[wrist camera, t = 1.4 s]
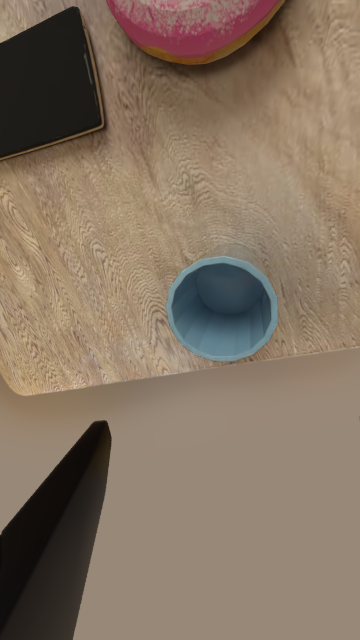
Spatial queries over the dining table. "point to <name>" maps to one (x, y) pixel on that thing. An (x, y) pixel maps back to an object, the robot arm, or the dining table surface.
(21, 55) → the smartphone
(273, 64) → the dining table surface
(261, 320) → the blue cup
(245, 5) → the donut
